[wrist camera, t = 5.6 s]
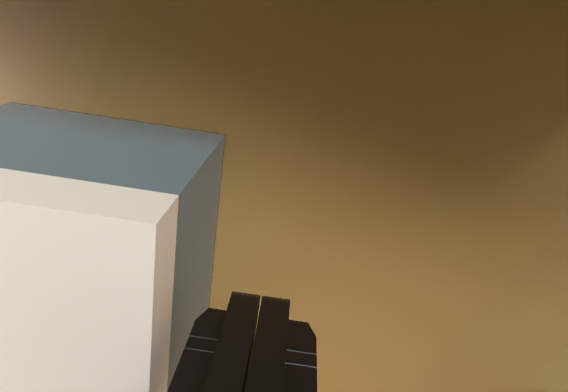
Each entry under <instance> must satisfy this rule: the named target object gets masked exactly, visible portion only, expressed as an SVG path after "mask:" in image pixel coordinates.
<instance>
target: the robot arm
mask: <svg viewBox="0 0 568 392" xmlns="http://www.w3.org/2000/svg"><path fill="white" fill-rule="evenodd" d="M259 302H260V295H254V294H247V293H240V292H232V294H231V298H230V301H229V304H228V308H227V311H225V310H218V309H212V308H208V309H207V310H206V311H205V312H203V313H202V314H201V315H200V316H199V317H198V318H197V319H195V322H194V324H193V327H192V330H191V332H190V336H189V337H188V340H187V342H186V345H185V349H184V350H183V353H182V355H181V358H180V360H179V363H178V365H177V368H176V370H175V373H174V376H173V378H172V381H171V383H170V386H169V388H168V391H167V392H317V369H316V367H317V356H316V353H317V352H316V336H315V334H314V332H313V331H312V329H311V327H310V325H309V324H308V323H307V322H300V321H293V320H289V307H290V300H288V299H281V298H275V297H268V296H262V301H261V306H260V312H259V317H258V310H259ZM257 317H258V323H257ZM256 324H257V328H256ZM255 332H256V334H255Z"/></svg>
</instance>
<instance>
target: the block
mask: <svg viewBox="0 0 568 392" xmlns="http://www.w3.org/2000/svg"><path fill="white" fill-rule="evenodd" d="M224 143H225V135H224V134H217V133H211V132H204V131H197V130H191V129H184V128H177V127H171V126H164V125H158V124H151V123H144V122H138V121H131V120H125V119H118V118H111V117H105V116H98V115H91V114H85V113H78V112H72V111H65V110H58V109H52V108H45V107H39V106H32V105H25V104H19V103H12V102H11V103H7V104H4V105H0V392H167V391H168V388H169V386H170V383H171V381H172V378H173V376H174V373H175V370H176V368H177V365H178V363H179V360H180V358H181V355H182V353H183V350H184V349H185V345H186V342H187V340H188V337H189V336H190V332H191V330H192V327H193V324H194V322H195V319H197V318H198V317H199V316H200V315H201V314H202V313H203V312H205V311H206V310H207V309H208V308H209V301H210V290H211V280H212V269H213V259H214V248H215V238H216V227H217V217H218V206H219V195H220V185H221V174H222V164H223V153H224Z"/></svg>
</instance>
